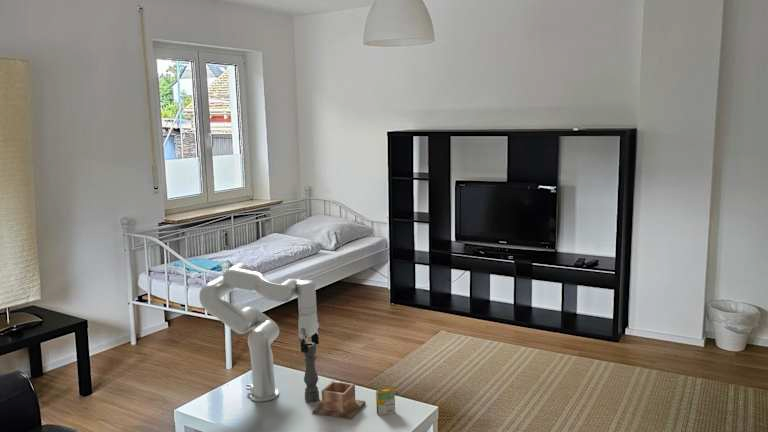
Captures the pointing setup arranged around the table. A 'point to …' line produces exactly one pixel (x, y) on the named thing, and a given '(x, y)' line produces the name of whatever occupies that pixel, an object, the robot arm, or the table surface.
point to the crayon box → (385, 401)
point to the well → (339, 401)
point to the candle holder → (311, 374)
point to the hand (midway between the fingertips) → (310, 347)
